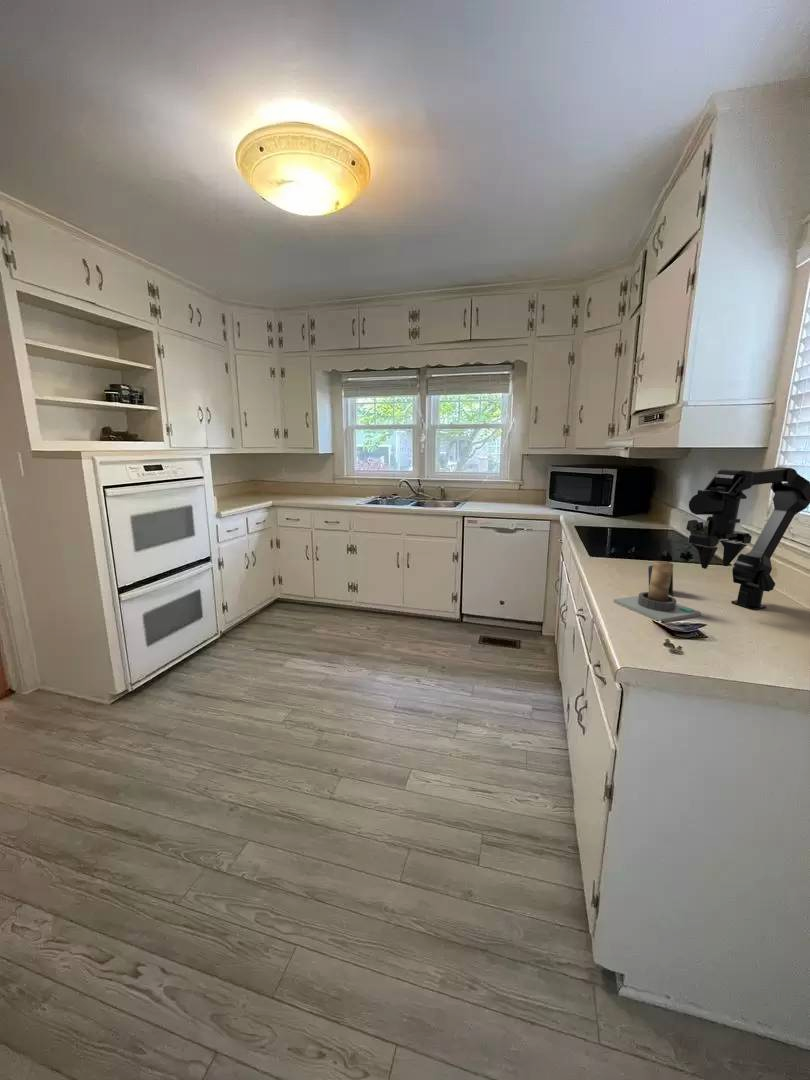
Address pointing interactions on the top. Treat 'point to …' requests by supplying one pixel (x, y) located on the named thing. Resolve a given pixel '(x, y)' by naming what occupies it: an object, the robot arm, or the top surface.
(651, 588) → the plug
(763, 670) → the top surface
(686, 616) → the socket
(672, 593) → the speaker
